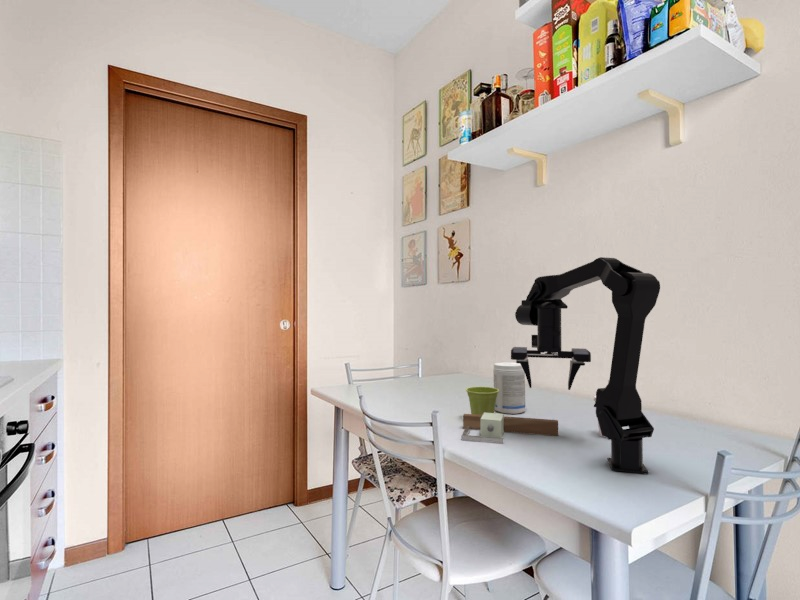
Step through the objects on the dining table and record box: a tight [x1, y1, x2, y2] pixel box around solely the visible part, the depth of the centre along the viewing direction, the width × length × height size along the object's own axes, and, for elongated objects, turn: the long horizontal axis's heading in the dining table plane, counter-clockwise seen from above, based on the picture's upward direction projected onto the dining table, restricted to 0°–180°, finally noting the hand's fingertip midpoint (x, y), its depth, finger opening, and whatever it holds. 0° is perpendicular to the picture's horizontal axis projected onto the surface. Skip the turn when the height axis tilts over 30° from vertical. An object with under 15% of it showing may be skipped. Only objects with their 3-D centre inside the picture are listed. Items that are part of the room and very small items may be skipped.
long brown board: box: [462, 413, 559, 437], centre depth 116 cm, size 2×24×4 cm, turn 74°
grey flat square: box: [460, 426, 504, 444], centre depth 111 cm, size 10×10×1 cm
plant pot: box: [465, 386, 499, 415], centre depth 127 cm, size 9×9×9 cm
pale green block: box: [479, 412, 505, 438], centre depth 111 cm, size 8×5×5 cm, turn 162°
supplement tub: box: [492, 361, 526, 415], centre depth 138 cm, size 10×10×15 cm
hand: (549, 388), depth 111 cm, fingers open, 9 cm apart
